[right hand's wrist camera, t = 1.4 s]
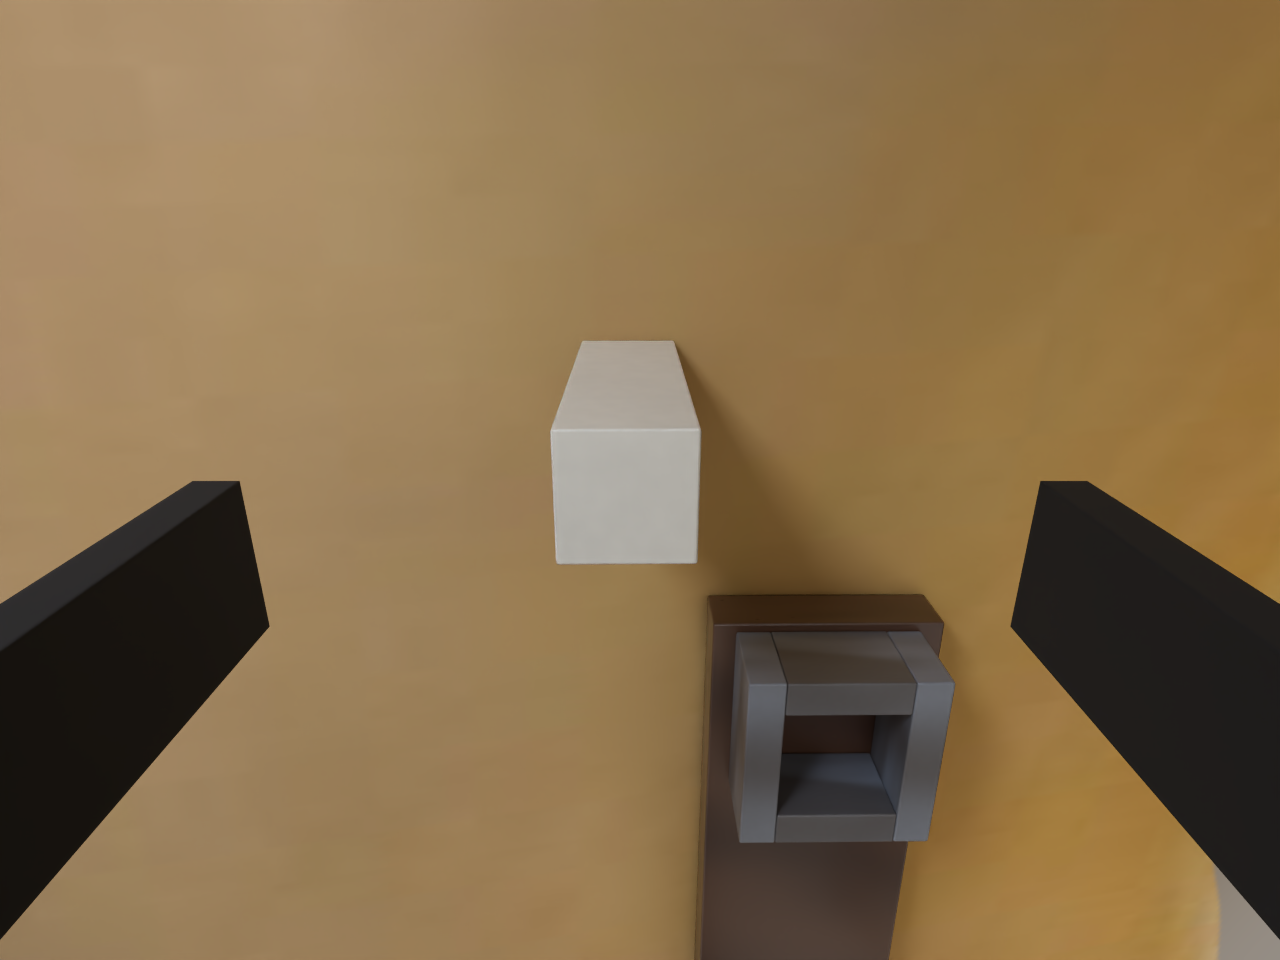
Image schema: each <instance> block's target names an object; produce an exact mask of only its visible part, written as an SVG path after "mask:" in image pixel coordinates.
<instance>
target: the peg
mask: <svg viewBox="0 0 1280 960" xmlns="http://www.w3.org/2000/svg"><path fill="white" fill-rule="evenodd" d="M550 436H551V458H552V481H553V503H554V526H555V549H556V563H557V564H696V563H697V560H698V527H699V494H700V461H701V428H700V425H699V421H698V418H697V415H696V412H695V408H694V405H693V402H692V398H691V395H690V392H689V389H688V385H687V382H686V379H685V376H684V372H683V369H682V366H681V362H680V359H679V356H678V353H677V349H676V346H675V343H674V341H582V343H581V346H580V349H579V351H578V354H577V357H576V360H575V363H574V366H573V368H572V371H571V374H570V377H569V380H568V383H567V385H566V388H565V391H564V394H563V397H562V400H561V403H560V405H559V408H558V411H557V414H556V417H555V420H554V422H553V425H552V428H551V431H550Z"/></svg>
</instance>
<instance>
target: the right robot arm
mask: <svg viewBox="0 0 1280 960" xmlns="http://www.w3.org/2000/svg"><path fill="white" fill-rule="evenodd" d="M268 628H269V621H268V617H267V612H266V607H265V602H264V597H263V592H262V588H261V583H260V578H259V573H258V568H257V563H256V559H255V554H254V549H253V544H252V539H251V534H250V530H249V525H248V520H247V515H246V510H245V505H244V501H243V496H242V491H241V486H240V481H192V482H191V483H189V484H187V485H186V486H184V487H183V488H181V489H180V490H178V491H177V492H175V493H173V494H172V495H170V496H169V497H167V498H166V499H164V500H162V501H161V502H159V503H158V504H156V505H155V506H153V507H151V508H150V509H148V510H147V511H145V512H144V513H142V514H141V515H139V516H137V517H136V518H134V519H133V520H131V521H130V522H128V523H126V524H125V525H123V526H122V527H120V528H119V529H117V530H115V531H114V532H112V533H111V534H109V535H108V536H106V537H104V538H103V539H101V540H100V541H98V542H97V543H95V544H94V545H92V546H90V547H89V548H87V549H86V550H84V551H83V552H81V553H79V554H78V555H76V556H75V557H73V558H72V559H70V560H68V561H67V562H65V563H64V564H62V565H61V566H59V567H58V568H56V569H54V570H53V571H51V572H50V573H48V574H47V575H45V576H43V577H42V578H40V579H39V580H37V581H36V582H34V583H32V584H31V585H29V586H28V587H26V588H25V589H23V590H22V591H20V592H18V593H17V594H15V595H14V596H12V597H11V598H9V599H7V600H6V601H4V602H3V603H1V604H0V939H1V938H2V937H3V936H4V935H5V933H6V932H7V931H8V930H9V929H10V928H11V927H12V925H13V924H14V923H15V922H16V921H17V920H18V918H19V917H20V916H21V915H22V914H23V913H24V911H25V910H26V909H27V908H28V907H29V906H30V904H31V903H32V902H33V901H34V900H35V899H36V897H37V896H38V895H39V894H40V893H41V892H42V890H43V889H44V888H45V887H46V886H47V885H48V883H49V882H50V881H51V880H52V879H53V878H54V876H55V875H56V874H57V873H58V872H59V871H60V870H61V868H62V867H63V866H64V865H65V864H66V863H67V861H68V860H69V859H70V858H71V857H72V856H73V854H74V853H75V852H76V851H77V850H78V849H79V847H80V846H81V845H82V844H83V843H84V842H85V840H86V839H87V838H88V837H89V836H90V835H91V833H92V832H93V831H94V830H95V829H96V828H97V826H98V825H99V824H100V823H101V822H102V821H103V820H104V818H105V817H106V816H107V815H108V814H109V813H110V811H111V810H112V809H113V808H114V807H115V806H116V804H117V803H118V802H119V801H120V800H121V799H122V797H123V796H124V795H125V794H126V793H127V792H128V790H129V789H130V788H131V787H132V786H133V785H134V783H135V782H136V781H137V780H138V779H139V778H140V776H141V775H142V774H143V773H144V772H145V771H146V769H147V768H148V767H149V766H150V765H151V764H152V763H153V761H154V760H155V759H156V758H157V757H158V756H159V754H160V753H161V752H162V751H163V750H164V749H165V747H166V746H167V745H168V744H169V743H170V742H171V740H172V739H173V738H174V737H175V736H176V735H177V733H178V732H179V731H180V730H181V729H182V728H183V726H184V725H185V724H186V723H187V722H188V721H189V719H190V718H191V717H192V716H193V715H194V714H195V712H196V711H197V710H198V709H199V708H200V707H201V706H202V704H203V703H204V702H205V701H206V700H207V699H208V697H209V696H210V695H211V694H212V693H213V692H214V690H215V689H216V688H217V687H218V686H219V685H220V683H221V682H222V681H223V680H224V679H225V678H226V676H227V675H228V674H229V673H230V672H231V671H232V669H233V668H234V667H235V666H236V665H237V664H238V662H239V661H240V660H241V659H242V658H243V657H244V656H245V654H246V653H247V652H248V651H249V650H250V649H251V647H252V646H253V645H254V644H255V643H256V642H257V640H258V639H259V638H260V637H261V636H262V635H263V633H264V632H265V631H266V630H267V629H268ZM1011 628H1012V629H1013V630H1014V631H1015V632H1016V633H1017V635H1018V636H1019V637H1020V638H1021V639H1022V640H1023V642H1024V643H1025V644H1026V645H1027V646H1028V647H1029V649H1030V650H1031V651H1032V652H1033V653H1034V654H1035V656H1036V657H1037V658H1038V659H1039V660H1040V661H1041V662H1042V664H1043V665H1044V666H1045V667H1046V668H1047V669H1048V671H1049V672H1050V673H1051V674H1052V675H1053V676H1054V678H1055V679H1056V680H1057V681H1058V682H1059V683H1060V685H1061V686H1062V687H1063V688H1064V689H1065V690H1066V692H1067V693H1068V694H1069V695H1070V696H1071V697H1072V699H1073V700H1074V701H1075V702H1076V703H1077V704H1078V706H1079V707H1080V708H1081V709H1082V710H1083V711H1084V712H1085V714H1086V715H1087V716H1088V717H1089V718H1090V719H1091V721H1092V722H1093V723H1094V724H1095V725H1096V726H1097V728H1098V729H1099V730H1100V731H1101V732H1102V733H1103V735H1104V736H1105V737H1106V738H1107V739H1108V740H1109V742H1110V743H1111V744H1112V745H1113V746H1114V747H1115V749H1116V750H1117V751H1118V752H1119V753H1120V754H1121V756H1122V757H1123V758H1124V759H1125V760H1126V761H1127V763H1128V764H1129V765H1130V766H1131V767H1132V768H1133V769H1134V771H1135V772H1136V773H1137V774H1138V775H1139V776H1140V778H1141V779H1142V780H1143V781H1144V782H1145V783H1146V785H1147V786H1148V787H1149V788H1150V789H1151V790H1152V792H1153V793H1154V794H1155V795H1156V796H1157V797H1158V799H1159V800H1160V801H1161V802H1162V803H1163V804H1164V806H1165V807H1166V808H1167V809H1168V810H1169V811H1170V813H1171V814H1172V815H1173V816H1174V817H1175V818H1176V820H1177V821H1178V822H1179V823H1180V824H1181V825H1182V826H1183V828H1184V829H1185V830H1186V831H1187V832H1188V833H1189V835H1190V836H1191V837H1192V838H1193V839H1194V840H1195V842H1196V843H1197V844H1198V845H1199V846H1200V847H1201V849H1202V850H1203V851H1204V852H1205V853H1206V854H1207V856H1208V857H1209V858H1210V859H1211V860H1212V861H1213V863H1214V864H1215V865H1216V866H1217V867H1218V868H1219V870H1220V871H1221V872H1222V873H1223V874H1224V875H1225V876H1226V878H1227V879H1228V880H1229V881H1230V882H1231V883H1232V885H1233V886H1234V887H1235V888H1236V889H1237V890H1238V892H1239V893H1240V894H1241V895H1242V896H1243V897H1244V899H1245V900H1246V901H1247V902H1248V903H1249V904H1250V906H1251V907H1252V908H1253V909H1254V910H1255V911H1256V913H1257V914H1258V915H1259V916H1260V917H1261V918H1262V920H1263V921H1264V922H1265V923H1266V924H1267V925H1268V927H1269V928H1270V929H1271V930H1272V931H1273V932H1274V933H1275V935H1276V936H1277V937H1278V938H1279V939H1280V604H1279V603H1277V602H1276V601H1274V600H1273V599H1271V598H1269V597H1268V596H1266V595H1265V594H1263V593H1262V592H1260V591H1258V590H1257V589H1255V588H1254V587H1252V586H1251V585H1249V584H1248V583H1246V582H1244V581H1243V580H1241V579H1240V578H1238V577H1237V576H1235V575H1233V574H1232V573H1230V572H1229V571H1227V570H1226V569H1224V568H1222V567H1221V566H1219V565H1218V564H1216V563H1215V562H1213V561H1212V560H1210V559H1208V558H1207V557H1205V556H1204V555H1202V554H1201V553H1199V552H1197V551H1196V550H1194V549H1193V548H1191V547H1190V546H1188V545H1186V544H1185V543H1183V542H1182V541H1180V540H1179V539H1177V538H1176V537H1174V536H1172V535H1171V534H1169V533H1168V532H1166V531H1165V530H1163V529H1161V528H1160V527H1158V526H1157V525H1155V524H1154V523H1152V522H1150V521H1149V520H1147V519H1146V518H1144V517H1143V516H1141V515H1139V514H1138V513H1136V512H1135V511H1133V510H1132V509H1130V508H1129V507H1127V506H1125V505H1124V504H1122V503H1121V502H1119V501H1118V500H1116V499H1114V498H1113V497H1111V496H1110V495H1108V494H1107V493H1105V492H1103V491H1102V490H1100V489H1099V488H1097V487H1096V486H1094V485H1093V484H1091V483H1089V482H1088V481H1040V486H1039V491H1038V496H1037V501H1036V505H1035V510H1034V515H1033V520H1032V525H1031V530H1030V534H1029V539H1028V544H1027V549H1026V554H1025V559H1024V563H1023V568H1022V573H1021V578H1020V583H1019V588H1018V592H1017V597H1016V602H1015V607H1014V612H1013V617H1012V621H1011Z"/></svg>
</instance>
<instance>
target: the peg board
mask: <svg viewBox="0 0 1280 960" xmlns="http://www.w3.org/2000/svg"><path fill="white" fill-rule="evenodd" d="M943 628H944V622H943V620H942V619H941V618H940V616H939V615H938V614H937V612H936V611H935V610H934V608H933V607H932V606H931V604H930V603H929V602H928V600H927V599H926V598H925V596H924V595H793V596H708V604H707V631H706V659H705V686H704V714H703V741H702V769H701V796H700V824H699V851H698V879H697V906H696V934H695V960H889V954H890V947H891V941H892V935H893V929H894V923H895V917H896V911H897V905H898V899H899V893H900V887H901V881H902V875H903V869H904V863H905V857H906V851H907V845H908V841H927V840H928V835H929V829H930V824H931V818H932V813H933V807H934V801H935V796H936V790H937V784H938V779H939V773H940V768H941V762H942V756H943V751H944V745H945V739H946V734H947V728H948V723H949V717H950V711H951V706H952V700H953V694H954V689H955V682H954V680H953V679H952V677H951V676H950V674H949V673H948V671H947V670H946V668H945V667H944V665H943V664H942V662H941V661H940V660H939V652H940V646H941V640H942V634H943Z"/></svg>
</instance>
